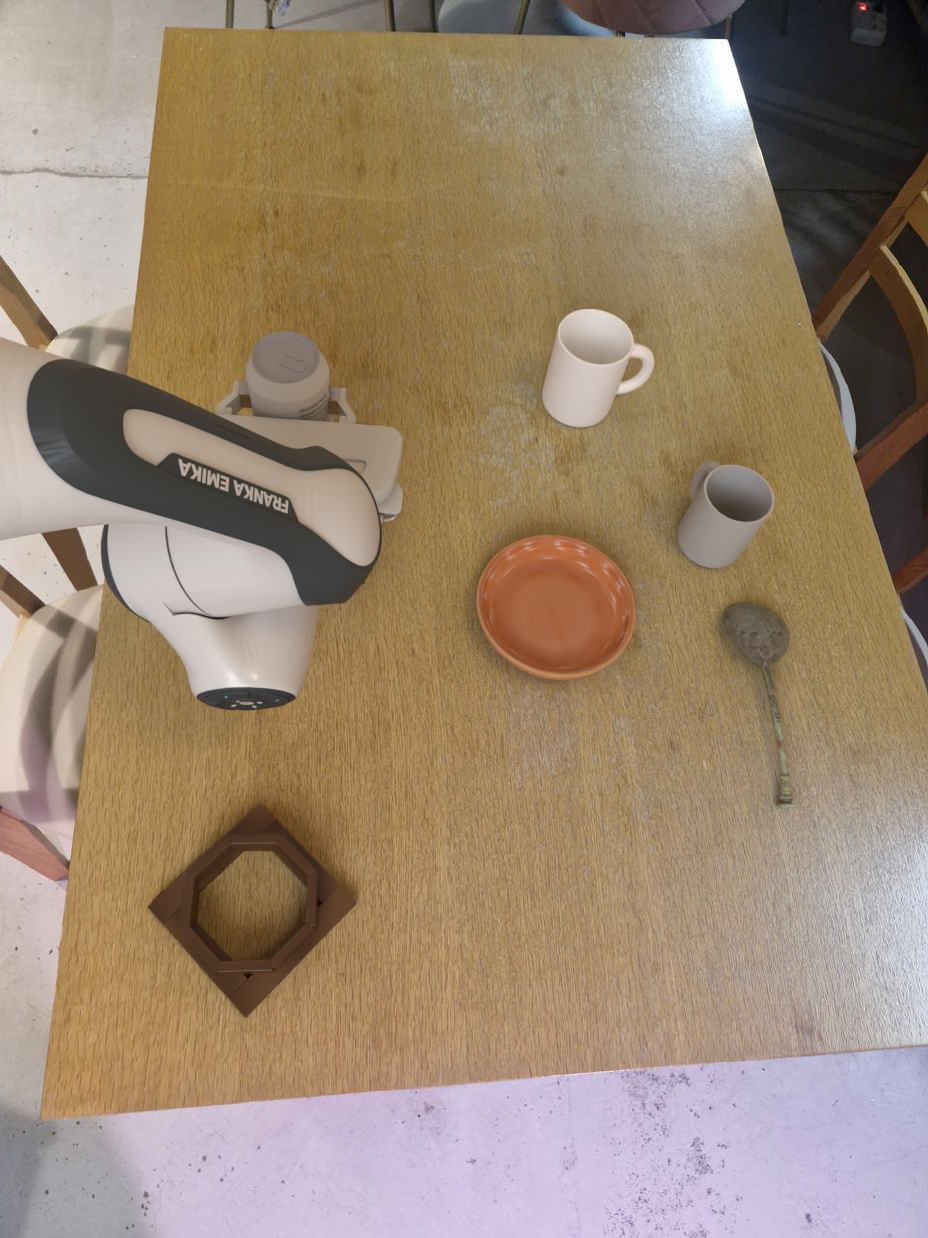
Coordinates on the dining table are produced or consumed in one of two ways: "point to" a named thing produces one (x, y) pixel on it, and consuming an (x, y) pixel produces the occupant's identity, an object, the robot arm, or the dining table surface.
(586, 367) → the mug
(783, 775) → the soupspoon
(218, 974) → the can holder
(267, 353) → the beverage can
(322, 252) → the dining table surface
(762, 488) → the cup
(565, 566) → the saucer
